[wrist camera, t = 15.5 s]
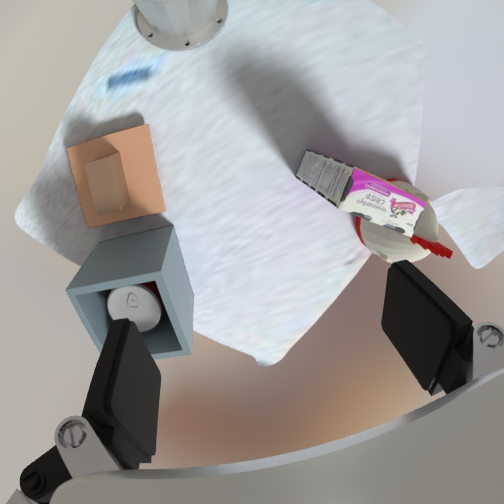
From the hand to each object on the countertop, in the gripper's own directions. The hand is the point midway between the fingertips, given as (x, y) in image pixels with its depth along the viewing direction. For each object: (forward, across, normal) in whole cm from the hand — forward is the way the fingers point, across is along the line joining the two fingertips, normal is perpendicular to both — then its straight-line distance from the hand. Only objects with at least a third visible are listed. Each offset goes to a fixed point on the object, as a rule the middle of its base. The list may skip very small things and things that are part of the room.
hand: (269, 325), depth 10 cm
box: (+34, +16, +14) cm, 40 cm away
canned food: (+34, +16, +14) cm, 40 cm away
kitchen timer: (+35, -27, +13) cm, 46 cm away
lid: (+35, +15, -2) cm, 38 cm away
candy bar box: (+34, -16, +4) cm, 38 cm away
